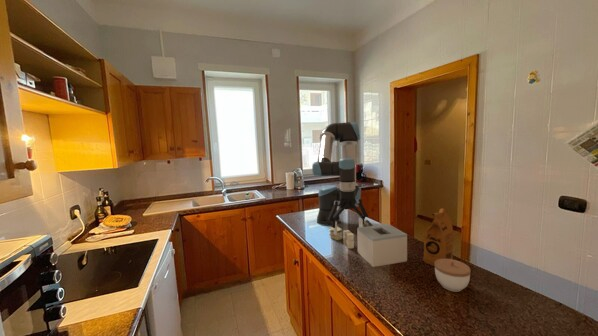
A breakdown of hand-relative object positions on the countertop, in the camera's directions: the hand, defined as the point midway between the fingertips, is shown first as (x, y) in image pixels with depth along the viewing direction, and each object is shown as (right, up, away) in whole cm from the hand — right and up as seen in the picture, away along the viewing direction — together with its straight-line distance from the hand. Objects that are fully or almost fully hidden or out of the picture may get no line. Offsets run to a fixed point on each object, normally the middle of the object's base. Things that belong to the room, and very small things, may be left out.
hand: (348, 232), depth 121 cm
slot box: (+12, -8, -11) cm, 19 cm away
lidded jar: (+29, -10, -35) cm, 47 cm away
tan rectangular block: (0, -7, +1) cm, 7 cm away
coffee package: (+34, -8, -18) cm, 40 cm away
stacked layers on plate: (-4, -7, +12) cm, 15 cm away
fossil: (+14, -6, +13) cm, 21 cm away
